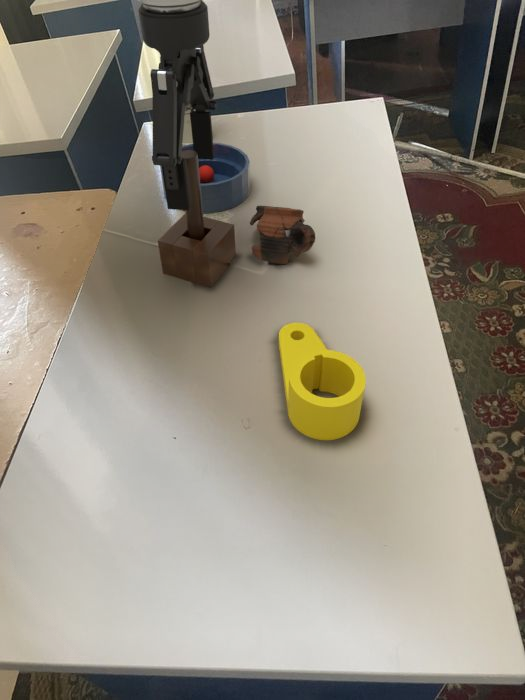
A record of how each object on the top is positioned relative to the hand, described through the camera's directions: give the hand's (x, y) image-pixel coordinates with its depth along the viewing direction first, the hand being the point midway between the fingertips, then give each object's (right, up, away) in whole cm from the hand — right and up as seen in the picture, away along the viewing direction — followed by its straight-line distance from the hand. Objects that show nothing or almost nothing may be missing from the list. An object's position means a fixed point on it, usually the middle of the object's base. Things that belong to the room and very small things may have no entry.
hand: (192, 181), depth 77 cm
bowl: (0, +5, +25) cm, 25 cm away
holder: (0, -10, +10) cm, 14 cm away
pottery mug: (+13, -7, +13) cm, 19 cm away
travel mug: (-6, +21, +41) cm, 46 cm away
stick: (0, -10, +10) cm, 14 cm away
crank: (+16, -27, -6) cm, 32 cm away
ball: (-1, +8, +26) cm, 27 cm away
